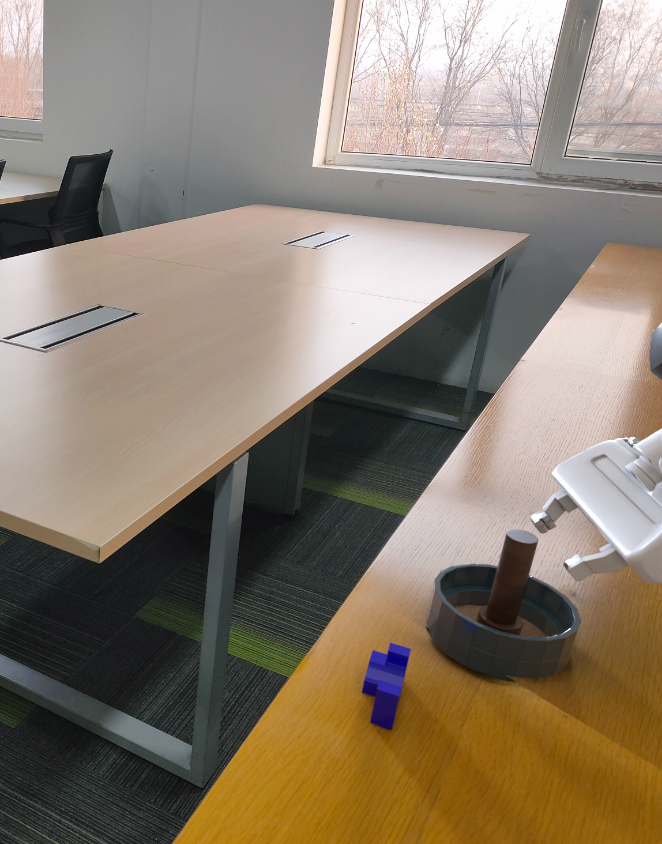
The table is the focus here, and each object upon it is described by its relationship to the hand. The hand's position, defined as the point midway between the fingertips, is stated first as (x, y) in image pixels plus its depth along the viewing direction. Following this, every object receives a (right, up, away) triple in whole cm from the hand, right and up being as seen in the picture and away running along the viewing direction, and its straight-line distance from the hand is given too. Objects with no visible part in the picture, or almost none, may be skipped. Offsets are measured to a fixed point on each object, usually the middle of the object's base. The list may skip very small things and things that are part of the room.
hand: (551, 548), depth 84 cm
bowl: (-4, -11, +4) cm, 13 cm away
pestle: (-4, -11, +4) cm, 12 cm away
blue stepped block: (-19, -14, -4) cm, 25 cm away
